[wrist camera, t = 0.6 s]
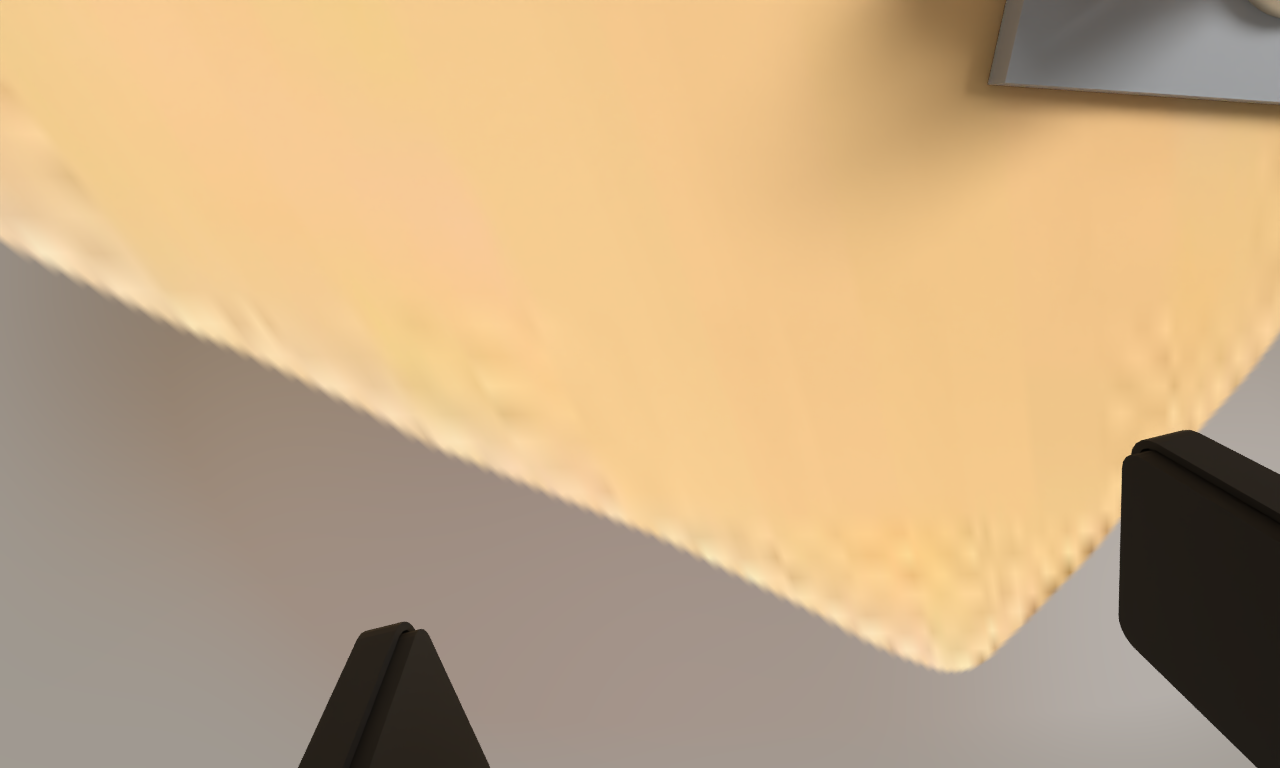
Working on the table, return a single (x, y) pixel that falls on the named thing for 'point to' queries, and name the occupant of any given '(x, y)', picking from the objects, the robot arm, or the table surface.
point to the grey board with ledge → (1141, 48)
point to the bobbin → (1268, 6)
